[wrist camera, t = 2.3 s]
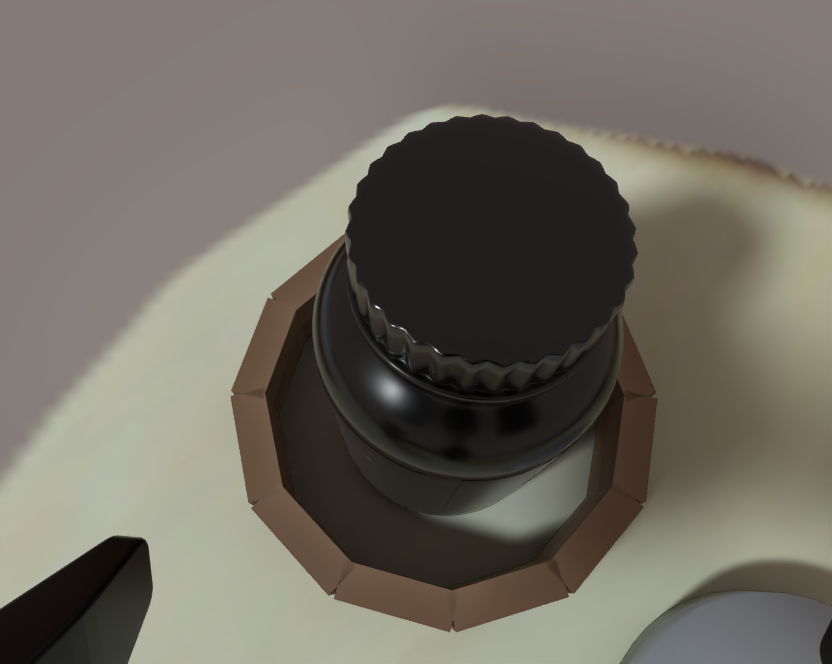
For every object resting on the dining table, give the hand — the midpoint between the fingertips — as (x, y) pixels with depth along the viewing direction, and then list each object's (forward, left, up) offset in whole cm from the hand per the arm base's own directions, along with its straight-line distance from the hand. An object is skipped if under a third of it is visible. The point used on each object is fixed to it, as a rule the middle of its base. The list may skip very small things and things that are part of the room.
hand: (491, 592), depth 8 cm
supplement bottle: (+3, -4, -12) cm, 13 cm away
